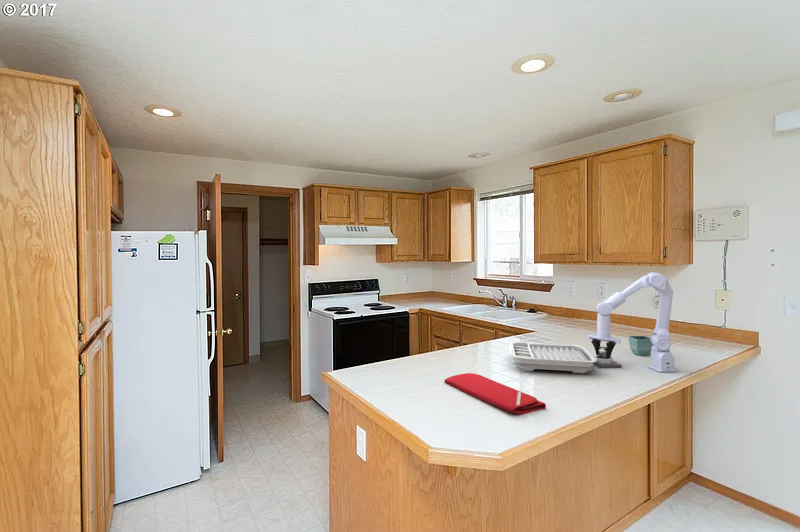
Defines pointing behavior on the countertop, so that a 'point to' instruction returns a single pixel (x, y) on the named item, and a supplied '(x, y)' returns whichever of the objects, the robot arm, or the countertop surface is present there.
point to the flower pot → (640, 345)
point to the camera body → (606, 363)
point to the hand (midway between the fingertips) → (603, 356)
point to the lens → (603, 352)
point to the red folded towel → (496, 393)
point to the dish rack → (552, 357)
